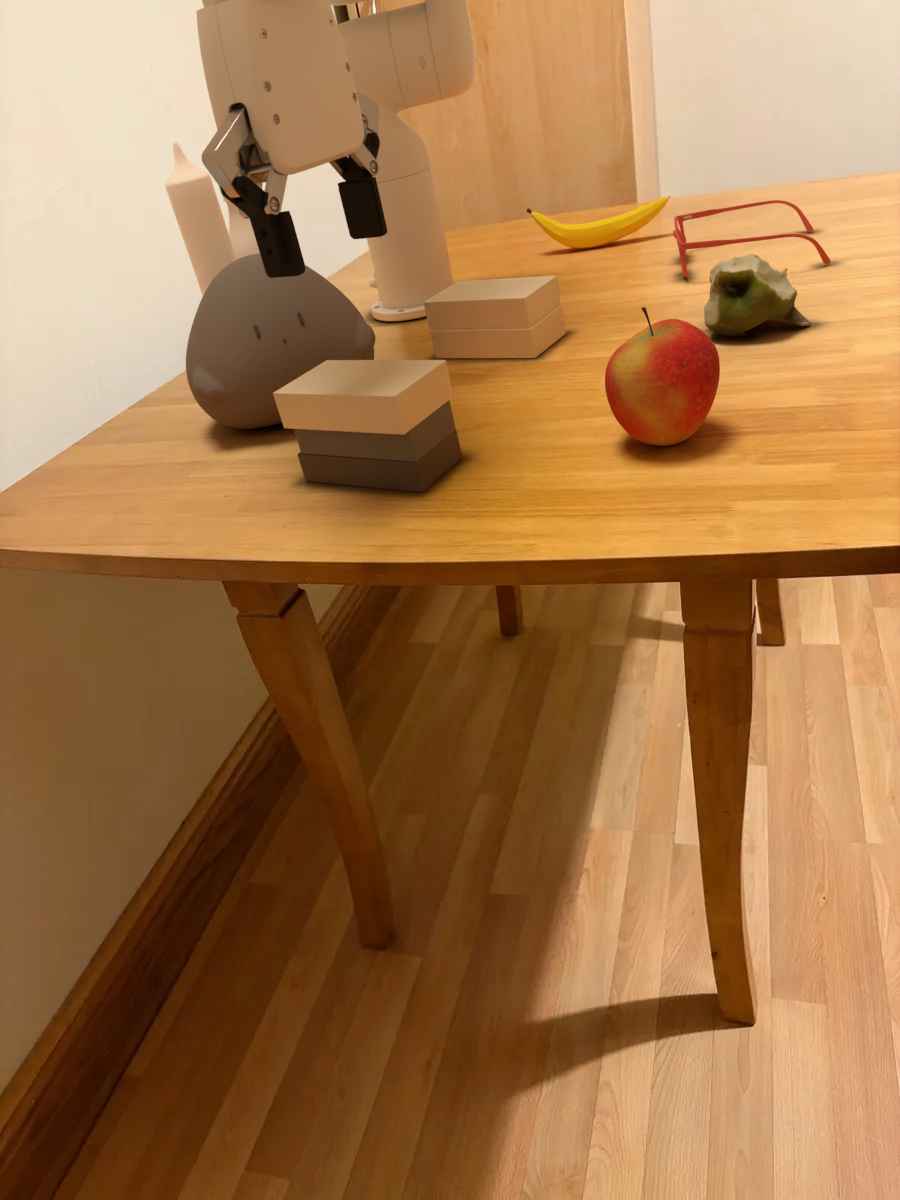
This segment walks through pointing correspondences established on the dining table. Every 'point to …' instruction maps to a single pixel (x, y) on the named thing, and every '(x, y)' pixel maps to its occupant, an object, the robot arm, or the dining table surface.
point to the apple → (663, 381)
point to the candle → (199, 219)
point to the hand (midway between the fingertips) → (330, 255)
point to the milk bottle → (240, 232)
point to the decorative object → (266, 339)
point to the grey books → (382, 455)
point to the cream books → (496, 318)
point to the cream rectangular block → (365, 395)
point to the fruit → (749, 296)
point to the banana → (599, 226)
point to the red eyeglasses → (704, 244)
